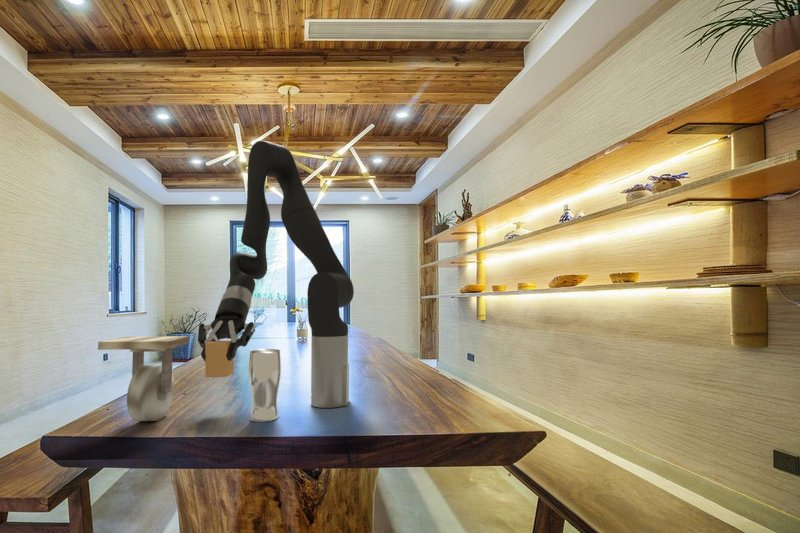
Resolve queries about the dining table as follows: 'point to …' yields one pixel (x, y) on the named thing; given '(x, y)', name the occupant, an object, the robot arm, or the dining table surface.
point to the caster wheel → (148, 374)
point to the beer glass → (264, 383)
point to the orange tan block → (218, 359)
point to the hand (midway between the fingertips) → (216, 358)
